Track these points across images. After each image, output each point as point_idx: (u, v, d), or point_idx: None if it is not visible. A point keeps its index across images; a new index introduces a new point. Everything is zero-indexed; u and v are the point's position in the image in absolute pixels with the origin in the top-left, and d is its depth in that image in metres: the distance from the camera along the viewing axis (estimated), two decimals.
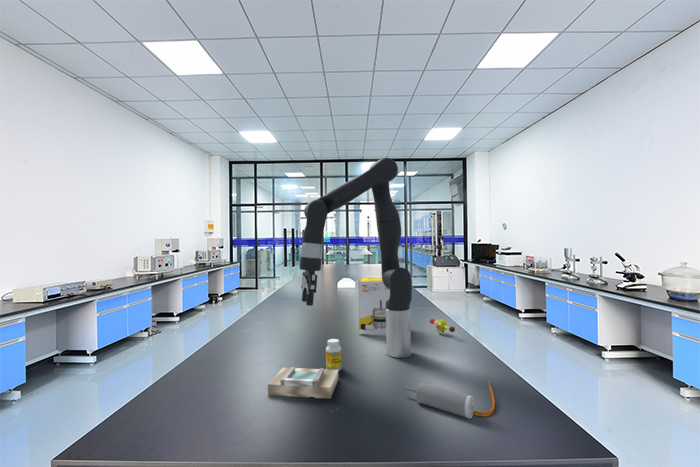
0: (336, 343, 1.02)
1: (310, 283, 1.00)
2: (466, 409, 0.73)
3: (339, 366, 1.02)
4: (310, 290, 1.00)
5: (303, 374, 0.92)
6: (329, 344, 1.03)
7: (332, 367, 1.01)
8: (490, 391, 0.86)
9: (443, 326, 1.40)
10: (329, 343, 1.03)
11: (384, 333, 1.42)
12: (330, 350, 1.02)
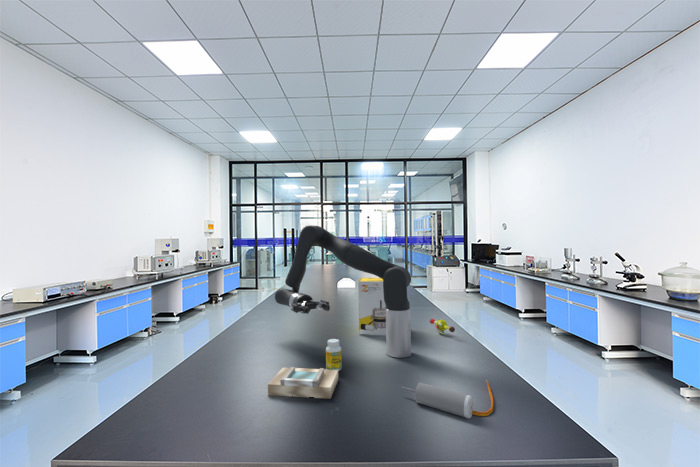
0: (336, 343, 1.03)
1: (293, 310, 1.16)
2: (465, 409, 0.73)
3: (339, 366, 1.02)
4: (295, 311, 1.14)
5: (303, 374, 0.92)
6: (329, 344, 1.03)
7: (332, 367, 1.01)
8: None
9: (443, 326, 1.40)
10: (329, 343, 1.03)
11: (384, 333, 1.42)
12: (330, 350, 1.02)
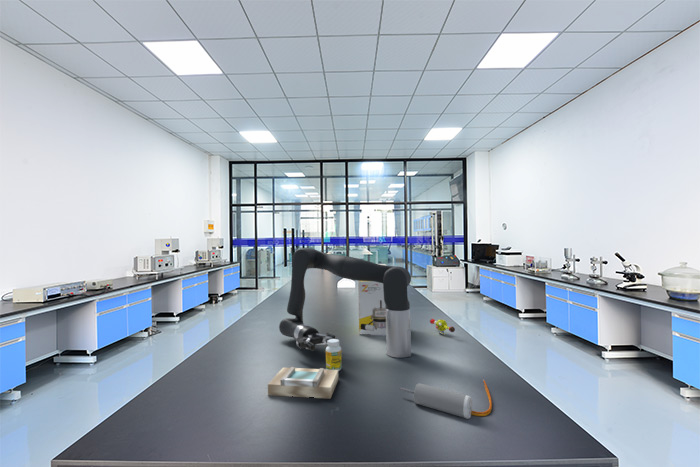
0: (336, 343, 1.02)
1: (298, 346, 1.12)
2: (465, 409, 0.72)
3: (339, 366, 1.02)
4: (300, 347, 1.10)
5: (303, 374, 0.92)
6: (329, 344, 1.03)
7: (332, 367, 1.01)
8: (486, 390, 0.87)
9: (443, 326, 1.40)
10: (329, 343, 1.03)
11: (384, 333, 1.42)
12: (330, 350, 1.02)
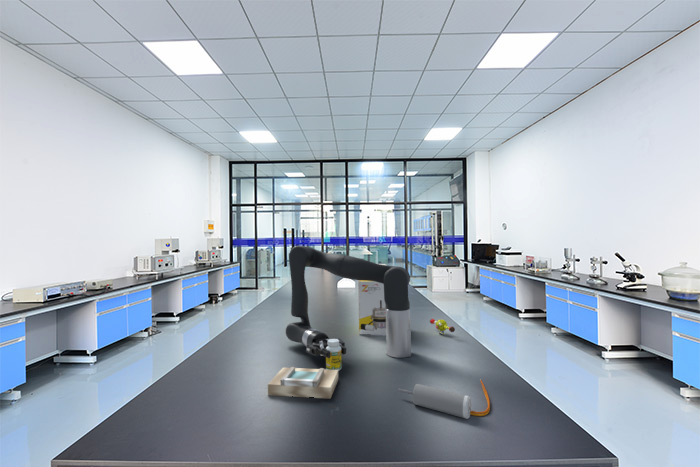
0: (336, 343, 1.03)
1: (311, 353, 1.05)
2: (464, 409, 0.72)
3: (339, 366, 1.02)
4: (315, 354, 1.03)
5: (303, 374, 0.92)
6: (329, 344, 1.03)
7: (332, 367, 1.01)
8: (483, 390, 0.87)
9: (443, 326, 1.40)
10: (329, 343, 1.03)
11: (384, 333, 1.42)
12: (330, 350, 1.02)
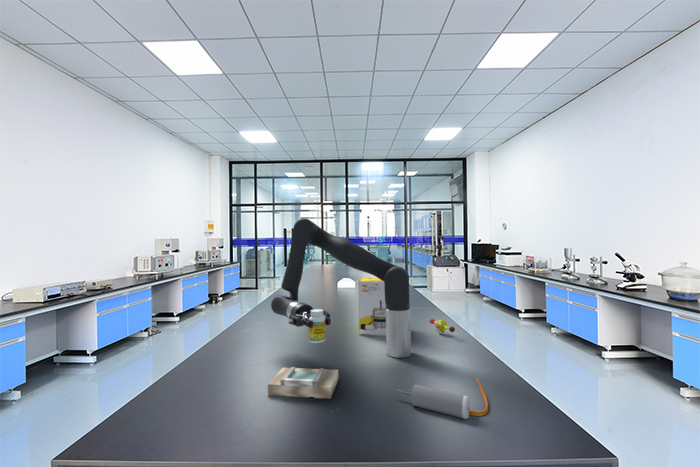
0: (319, 313, 0.96)
1: (293, 323, 0.98)
2: (463, 410, 0.72)
3: (322, 337, 0.95)
4: (297, 324, 0.96)
5: (303, 374, 0.92)
6: (312, 314, 0.96)
7: (315, 338, 0.95)
8: (480, 390, 0.87)
9: (443, 326, 1.40)
10: (312, 313, 0.96)
11: (384, 333, 1.42)
12: (313, 319, 0.95)
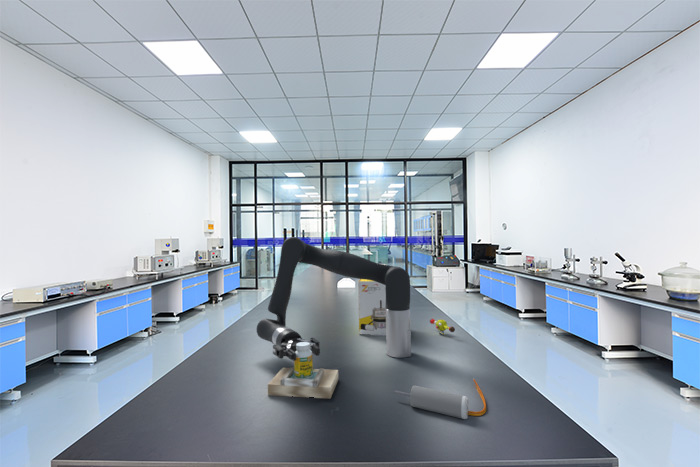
0: (306, 347, 0.89)
1: (276, 354, 0.91)
2: (463, 410, 0.72)
3: (309, 373, 0.88)
4: (279, 356, 0.89)
5: None
6: (298, 348, 0.89)
7: (301, 374, 0.87)
8: (477, 389, 0.88)
9: (443, 326, 1.40)
10: (298, 347, 0.89)
11: (384, 333, 1.42)
12: (299, 354, 0.88)
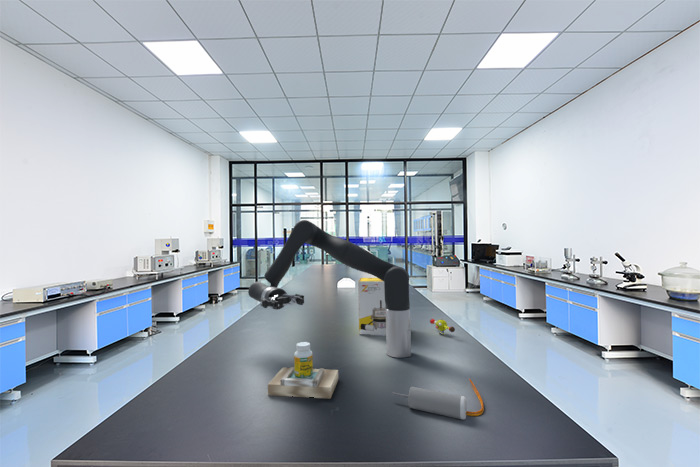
0: (306, 347, 0.89)
1: (262, 305, 1.03)
2: (461, 410, 0.72)
3: (309, 373, 0.88)
4: (263, 306, 1.01)
5: None
6: (298, 348, 0.89)
7: (301, 375, 0.87)
8: (473, 389, 0.88)
9: (443, 326, 1.40)
10: (298, 347, 0.89)
11: (384, 333, 1.42)
12: (299, 355, 0.88)
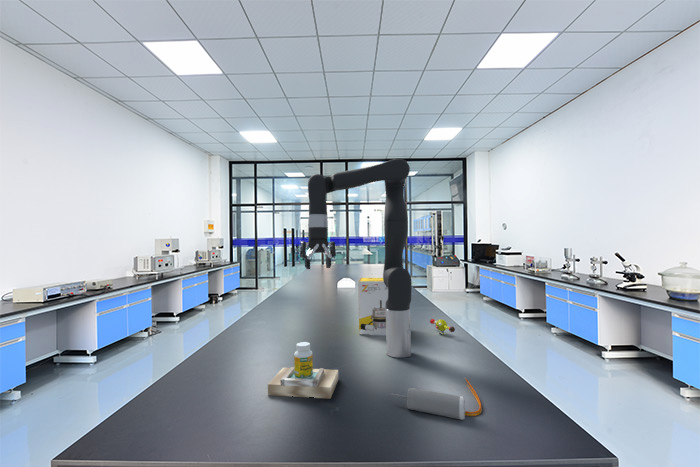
0: (306, 347, 0.89)
1: (300, 249, 1.16)
2: (461, 411, 0.72)
3: (309, 373, 0.88)
4: (300, 255, 1.15)
5: None
6: (298, 348, 0.89)
7: (301, 375, 0.87)
8: (470, 388, 0.88)
9: (443, 326, 1.40)
10: (298, 347, 0.89)
11: (384, 333, 1.42)
12: (299, 355, 0.88)
